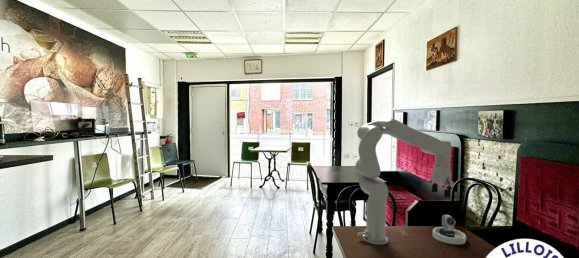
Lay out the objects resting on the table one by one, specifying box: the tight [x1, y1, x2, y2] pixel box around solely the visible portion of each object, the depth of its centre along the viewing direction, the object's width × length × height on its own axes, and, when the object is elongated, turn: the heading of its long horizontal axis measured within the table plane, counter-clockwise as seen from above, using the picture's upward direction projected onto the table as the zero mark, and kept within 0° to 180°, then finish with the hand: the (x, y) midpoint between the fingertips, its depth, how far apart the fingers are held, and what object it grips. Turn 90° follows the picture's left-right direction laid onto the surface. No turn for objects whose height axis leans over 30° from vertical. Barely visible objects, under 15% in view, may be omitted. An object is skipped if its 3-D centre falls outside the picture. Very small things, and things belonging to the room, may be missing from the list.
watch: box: [440, 214, 457, 238], centre depth 147 cm, size 6×8×11 cm
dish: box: [432, 226, 467, 246], centre depth 147 cm, size 15×15×3 cm
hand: (440, 194), depth 150 cm, fingers open, 9 cm apart
